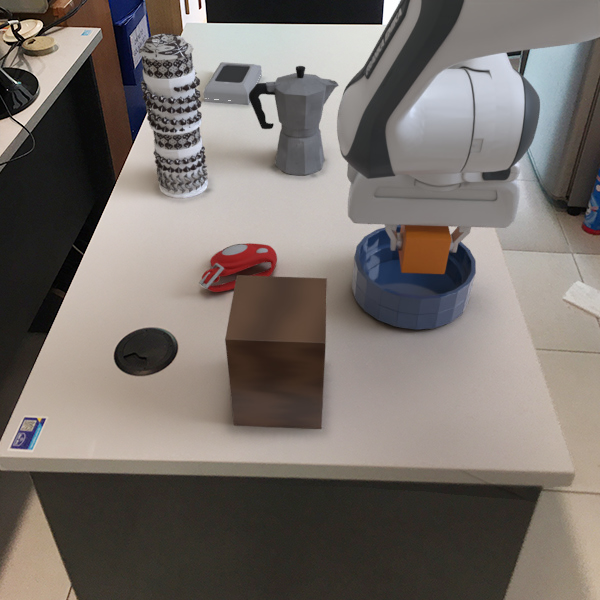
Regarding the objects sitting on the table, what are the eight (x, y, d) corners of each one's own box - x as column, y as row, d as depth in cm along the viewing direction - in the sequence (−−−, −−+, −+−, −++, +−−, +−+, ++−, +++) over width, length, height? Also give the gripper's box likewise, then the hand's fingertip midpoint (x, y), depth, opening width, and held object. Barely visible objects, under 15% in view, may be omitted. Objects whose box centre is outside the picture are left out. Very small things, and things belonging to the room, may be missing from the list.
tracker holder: (213, 241, 96) (276, 231, 94) (221, 267, 98) (283, 258, 96) (190, 275, 85) (260, 266, 83) (199, 304, 87) (268, 295, 85)
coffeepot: (328, 147, 120) (332, 53, 108) (340, 172, 113) (346, 74, 101) (248, 155, 118) (243, 59, 106) (256, 181, 111) (251, 81, 99)
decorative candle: (209, 169, 114) (194, 26, 97) (211, 197, 107) (197, 48, 90) (157, 173, 113) (134, 29, 96) (157, 201, 106) (132, 51, 89)
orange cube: (439, 248, 84) (445, 214, 81) (444, 274, 80) (451, 239, 77) (398, 247, 84) (402, 212, 81) (401, 273, 80) (406, 238, 77)
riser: (322, 363, 79) (326, 278, 70) (321, 428, 71) (325, 342, 62) (243, 360, 79) (236, 275, 70) (233, 425, 72) (224, 339, 62)
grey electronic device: (260, 60, 143) (247, 87, 132) (261, 76, 145) (248, 104, 134) (219, 58, 144) (202, 84, 133) (221, 74, 146) (204, 101, 135)
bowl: (482, 278, 92) (490, 245, 88) (444, 348, 81) (452, 314, 77) (380, 245, 97) (383, 212, 93) (332, 306, 87) (334, 272, 83)
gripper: (349, 163, 70) (342, 261, 79) (535, 168, 69) (506, 266, 78) (348, 136, 74) (342, 231, 84) (522, 141, 74) (496, 236, 83)
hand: (423, 248), depth 81 cm, fingers closed on orange cube, 5 cm apart
